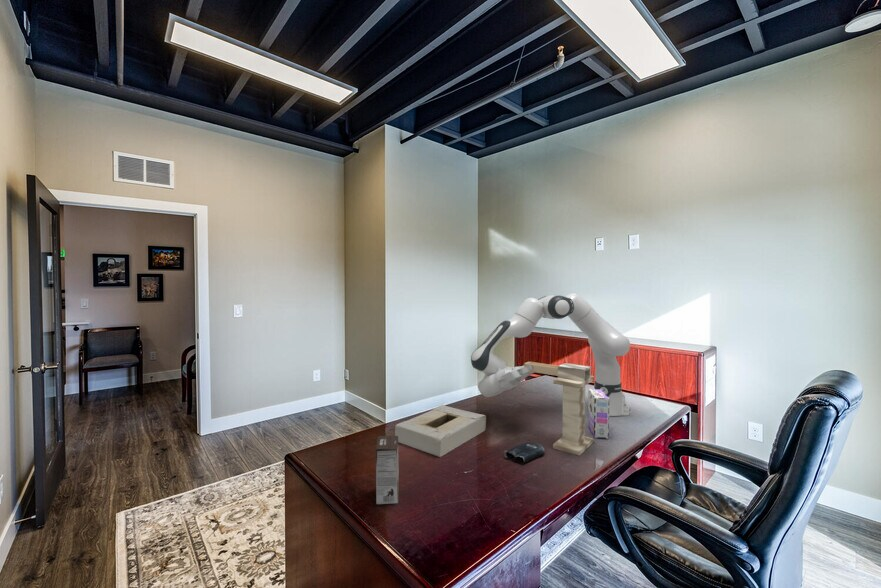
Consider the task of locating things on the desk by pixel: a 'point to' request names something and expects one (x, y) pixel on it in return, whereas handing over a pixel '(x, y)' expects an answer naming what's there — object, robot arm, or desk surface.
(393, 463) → the coffee box
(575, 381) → the stand
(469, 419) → the box
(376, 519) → the desk surface
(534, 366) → the tray
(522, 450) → the electronic device
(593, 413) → the candy box
